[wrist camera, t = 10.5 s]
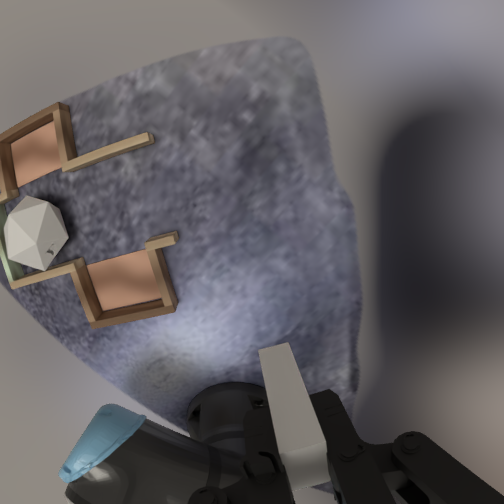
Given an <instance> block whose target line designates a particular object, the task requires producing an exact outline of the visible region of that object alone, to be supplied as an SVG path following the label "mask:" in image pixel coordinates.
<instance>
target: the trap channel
mask: <svg viewBox="0 0 504 504" xmlns="http://www.w3.org/2000/svg"><path fill="white" fill-rule="evenodd" d="M53 120H54V121H53ZM51 121H53V122H51ZM49 122H51V123H49ZM47 123H49V124H47ZM45 124H47V125H45ZM43 125H45V126H43ZM41 126H43V127H41ZM39 127H41V128H39ZM37 128H39V129H37ZM36 129H37V130H36ZM34 130H35V131H34ZM32 131H33V132H32ZM30 132H32V133H30ZM28 133H30V134H28ZM26 134H28V135H26ZM24 135H26V136H24ZM23 136H24V137H23ZM21 137H22V138H21ZM19 138H21V139H19ZM17 139H19V140H17ZM16 140H17V141H16ZM14 141H15V142H14ZM12 142H14V143H12ZM10 143H12V144H10ZM154 143H155V141H154V137H153V135H152V134H150V133H148V132H146V133H143V134H140V135H137V136H134V137H131V138H128V139H125V140H122V141H119V142H116V143H114V144H111V145H108V146H105V147H103V148H100V149H97V150H95V151H92V152H90V153H87V154H85V155H82V156H80V157H77V153H76V148H75V142H74V137H73V131H72V125H71V118H70V111H69V106H68V105H65V104H62V103H60V102H57V103H55V104H53V105H51V106H49V107H47V108H45V109H43V110H41V111H39V112H38V113H36V114H34V115H32V116H30V117H28V118H27V119H25V120H23V121H22V122H20V123H18V124H16V125H15V126H13V127H11V128H10V129H8V130H6V131H5V132H3V133H2V134H0V189H1V194H0V256H1V259H2V262H3V265H4V268H5V271H6V274H7V277H8V280H9V283H10V286H11V288H12V289H15V288H18V287H22V286H25V285H28V284H32V283H35V282H38V281H42V280H45V279H49V278H52V277H56V276H59V275H63V274H66V273H70V274H71V277H72V280H73V282H74V285H75V288H76V290H77V293H78V296H79V298H80V301H81V303H82V306H83V308H84V311H85V313H86V316H87V318H88V320H89V323H90V325H91V327H92V329H95V328H101V327H106V326H111V325H116V324H121V323H126V322H131V321H136V320H141V319H146V318H151V317H155V316H160V315H165V314H169V313H174V312H175V311H176V308H177V305H178V300H177V297H176V294H175V291H174V288H173V285H172V282H171V279H170V275H169V272H168V269H167V266H166V262H165V259H164V256H163V252H162V249H161V247H165V246H169V245H173V244H176V242H177V241H178V239H179V237H178V233H177V231H174V232H170V233H166V234H163V235H159V236H155V237H151V238H149V239H148V240H147V241H146V242H145V243H144V244H145V247H146V249H144V250H140V251H136V252H133V253H129V254H125V255H122V256H118V257H114V258H111V259H107V260H104V261H100V262H96V263H93V264H89V265H87V267H86V264H85V261H84V258H83V257H81V258H78V259H74V260H71V261H68V262H64V263H61V264H58V265H55V266H51V267H48V268H47V269H46V270H45V271H43V270H39V271H35V272H32V273H29V274H26V275H24V272H23V269H22V266H21V263H19V262H16V261H13V260H10V259H8V254H7V248H6V241H5V234H4V226H5V223H6V221H7V214H6V210H5V205H4V203H6V202H8V201H10V200H12V199H14V198H16V197H18V196H19V191H18V187H21V186H23V185H25V184H27V183H29V182H31V181H33V180H35V179H37V178H39V177H41V176H43V175H46V174H48V173H50V172H52V171H55V170H57V169H59V168H61V167H62V171H63V172H74V171H77V170H79V169H82V168H85V167H87V166H90V165H92V164H95V163H98V162H100V161H103V160H106V159H109V158H111V157H114V156H117V155H120V154H123V153H126V152H129V151H132V150H135V149H138V148H141V147H144V146H147V145H150V144H154ZM11 150H12V151H11ZM12 157H13V158H12ZM13 163H14V164H13ZM14 169H15V170H14ZM15 175H16V176H15ZM16 180H17V181H16ZM17 185H18V186H17ZM87 268H88V270H87ZM88 271H89V273H88ZM89 274H90V276H89ZM90 277H91V279H90ZM91 280H92V282H91ZM92 283H93V284H92ZM93 286H94V287H93ZM94 288H95V290H94ZM95 291H96V293H95ZM96 294H97V295H96ZM97 296H98V298H97ZM159 298H162V299H159ZM98 299H99V300H98ZM154 299H159V300H154ZM150 300H154V301H150ZM146 301H150V302H146ZM99 302H100V303H99ZM141 302H145V303H141ZM137 303H141V304H137ZM100 304H101V306H100ZM132 304H136V305H132ZM128 305H132V306H128ZM123 306H127V307H123ZM101 307H102V308H101ZM118 307H123V308H118ZM114 308H118V309H114ZM102 309H103V311H104V312H103V311H102ZM109 309H114V310H109ZM105 310H109V311H105Z"/></svg>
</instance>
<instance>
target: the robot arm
mask: <svg viewBox="0 0 504 504" xmlns="http://www.w3.org/2000/svg"><path fill="white" fill-rule="evenodd" d="M258 352H259V357H260V362H261V367H262V372H263V377H264V382H265V387H266V389H264V388H262V387H259V386H256V385H253V384H248V383H239V382H232V383H223V384H218V385H215V386H212V387H209V388H207V389H205V390H203V391H202V392H200V393H199V394H198V395H197V396H196V397H195V398H194V399H193V400H192V401H191V403H190V405H189V408H188V413H187V428H188V432H189V434H190V437H191V438H190V437H187V436H185V435H182V434H180V433H178V432H175V431H173V430H171V429H168V428H166V427H164V426H161V425H159V424H157V423H155V422H153V421H151V420H149V419H146V416H145V415H139V414H136V413H134V412H132V411H130V410H128V409H125V408H123V407H121V406H119V405H116V404H107V405H104V406H102V407H101V408H100V409H99V410H98V412H97V413H96V414H95V416H94V418H93V419H92V420H91V422H90V424H89V425H88V427H87V428H86V430H85V431H84V433H83V434H82V436H81V437H80V439H79V441H78V442H77V444H76V445H75V447H74V448H73V450H72V451H71V453H70V455H69V456H68V458H67V460H66V461H65V463H64V464H63V466H62V467H61V469H60V471H59V473H58V474H59V477H60V478H62V480H63V481H64V482H66V483H69V484H68V486H67V489H66V492H65V494H64V497H65V499H66V501H67V503H68V504H295V501H294V498H293V493H292V491H295V490H299V489H303V488H307V487H311V486H314V485H318V484H322V483H325V482H328V481H332V484H333V489H334V498H335V500H337V503H338V504H396V502H395V500H394V498H393V496H392V494H393V495H394V496H395V497H396V498H397V499H398V501H399V502H400V503H401V504H504V496H503V495H502V494H500V493H499V492H498V491H496V490H495V489H494V488H492V487H491V486H489V485H488V484H487V483H486V482H484V481H483V480H481V479H480V478H479V477H478V476H477V475H475V474H474V473H472V472H471V471H470V470H469V469H468V468H466V467H465V466H463V465H462V464H461V463H460V462H459V461H457V460H456V459H455V458H453V457H452V456H451V455H450V454H448V453H447V452H446V451H445V450H443V449H442V448H441V447H440V446H438V445H437V444H436V443H434V442H433V441H432V440H431V439H430V438H428V437H427V436H426V435H424V434H422V433H420V432H415V431H411V432H406V433H404V434H402V435H399V436H398V437H397V439H395V440H394V443H388V444H379V445H374V444H369V443H366V442H364V441H363V440H361V439H360V438H359V436H358V435H357V433H356V431H355V428H354V426H353V424H352V422H351V420H350V418H349V416H348V414H347V412H346V411H345V408H344V406H343V405H342V402H341V400H340V398H339V396H338V395H337V394H336V393H334V392H333V391H331V390H330V389H328V390H325V391H322V392H318V393H315V394H311V395H308V393H307V390H306V388H305V385H304V382H303V380H302V377H301V374H300V372H299V369H298V366H297V364H296V361H295V359H294V356H293V353H292V351H291V348H290V345H289V343H288V342H287V343H283V344H280V345H276V346H272V347H268V348H264V349H259V350H258ZM330 478H331V479H330ZM391 493H392V494H391Z"/></svg>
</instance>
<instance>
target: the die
mask: <svg viewBox="0 0 504 504" xmlns="http://www.w3.org/2000/svg"><path fill="white" fill-rule="evenodd" d="M4 234H5V241H6V248H7V254H8V259H10V260H13V261H16V262H19V263H22V264H24V265H27V266H30V267H33V268H37V269H40V270H43V271H45V270H46V269H47V267H48V266H49V265H50V263H51V262H52V260H53V259H54V257H55V256H56V255H57V253H58V252H59V250H60V249H61V248H62V246H63V245H64V243H65V242H66V241H67V239H68V238H69V237H68V234H67V231H66V228H65V225H64V221H63V218H62V215H61V212H60V209H58V208H57V207H55V206H54V205H52V204H51V203H49V202H47V201H44V200H40V199H37V198H33V197H30V196H26V197H25V198H24V199H23V200H22V201H21V202H20V203H19V204H18V205H17V206H16V207H15V208H14V209H13V211H12V212H11V213H10V214H9V215H8V218H7V221H6V223H5V226H4Z"/></svg>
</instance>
